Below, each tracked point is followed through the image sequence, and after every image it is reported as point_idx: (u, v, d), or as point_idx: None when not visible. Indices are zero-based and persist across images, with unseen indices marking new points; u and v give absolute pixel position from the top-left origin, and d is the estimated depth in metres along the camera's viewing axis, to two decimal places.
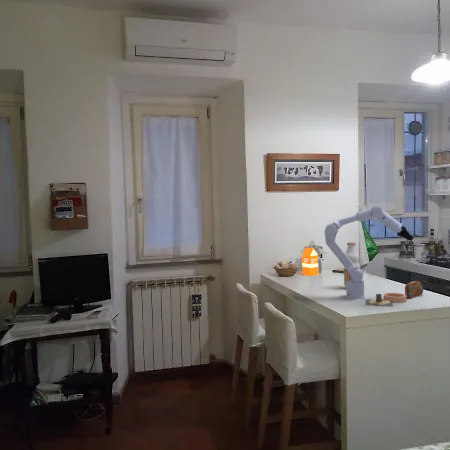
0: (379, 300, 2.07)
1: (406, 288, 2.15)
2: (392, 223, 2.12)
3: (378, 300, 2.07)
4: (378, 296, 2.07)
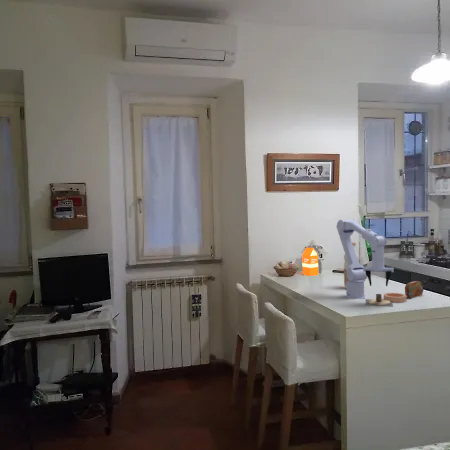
0: (379, 300, 2.07)
1: (406, 288, 2.15)
2: (372, 261, 2.08)
3: (378, 300, 2.07)
4: (378, 296, 2.07)
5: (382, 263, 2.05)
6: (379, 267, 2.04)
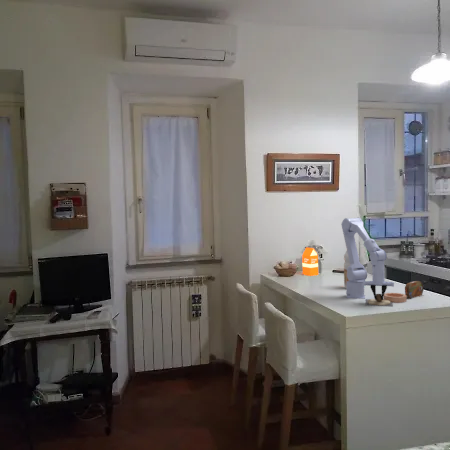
0: (379, 300, 2.07)
1: (406, 288, 2.15)
2: (372, 275, 2.08)
3: (378, 300, 2.07)
4: (378, 296, 2.07)
5: (382, 277, 2.05)
6: (379, 281, 2.05)
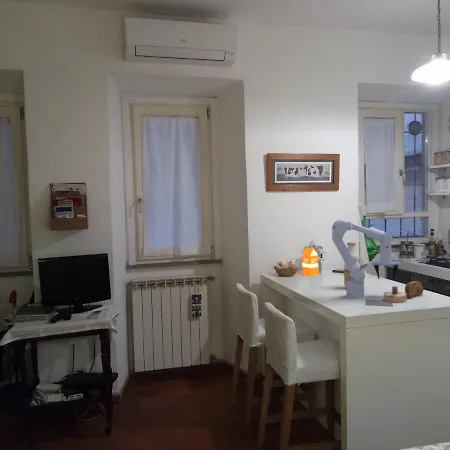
0: (395, 292, 2.11)
1: (406, 288, 2.15)
2: (380, 256, 2.22)
3: (394, 292, 2.11)
4: (394, 288, 2.11)
5: (389, 258, 2.19)
6: (387, 261, 2.19)
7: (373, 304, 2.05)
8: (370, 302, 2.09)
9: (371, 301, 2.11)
